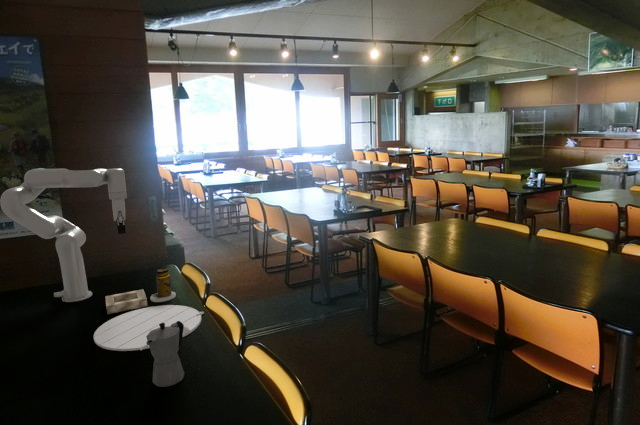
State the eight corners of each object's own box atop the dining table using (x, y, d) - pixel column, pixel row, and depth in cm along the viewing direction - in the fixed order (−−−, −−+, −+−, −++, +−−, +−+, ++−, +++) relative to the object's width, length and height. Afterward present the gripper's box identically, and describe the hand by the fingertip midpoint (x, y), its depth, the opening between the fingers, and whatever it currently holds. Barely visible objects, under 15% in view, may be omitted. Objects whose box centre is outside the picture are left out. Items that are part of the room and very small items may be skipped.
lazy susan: (223, 314, 185) (222, 306, 184) (151, 360, 150) (150, 350, 150) (150, 303, 202) (149, 295, 201) (70, 341, 167) (68, 333, 166)
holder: (107, 314, 191) (106, 306, 190) (106, 303, 203) (105, 296, 202) (147, 306, 198) (146, 298, 197) (144, 296, 210) (143, 289, 209)
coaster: (152, 304, 200) (151, 301, 200) (149, 296, 209) (148, 294, 209) (177, 298, 204) (177, 296, 204) (173, 291, 214) (173, 289, 214)
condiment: (174, 295, 206) (171, 270, 204) (155, 299, 202) (151, 274, 200) (170, 291, 212) (167, 266, 210) (151, 295, 208) (148, 270, 206)
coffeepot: (166, 393, 129) (159, 334, 126) (140, 388, 133) (133, 330, 130) (199, 366, 144) (193, 313, 140) (175, 362, 147) (169, 310, 144)
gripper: (108, 193, 215) (112, 229, 218) (109, 198, 200) (113, 236, 203) (125, 192, 218) (129, 227, 221) (127, 196, 203) (131, 234, 206)
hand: (121, 231), depth 212 cm, fingers open, 9 cm apart
